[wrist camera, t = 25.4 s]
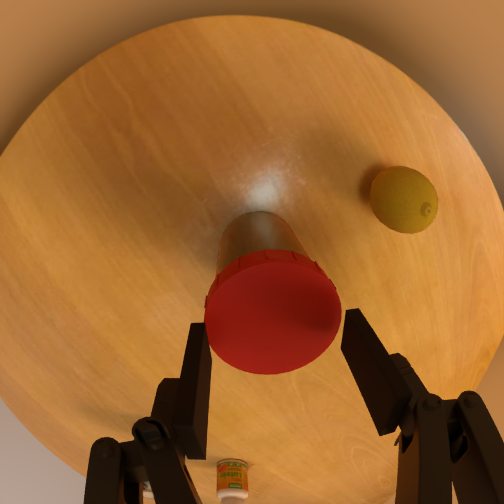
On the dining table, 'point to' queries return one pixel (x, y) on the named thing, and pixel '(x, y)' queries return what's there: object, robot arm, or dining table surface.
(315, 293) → the cap
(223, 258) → the jar
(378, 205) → the lemon
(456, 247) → the dining table surface
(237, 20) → the dining table surface
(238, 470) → the supplement bottle
